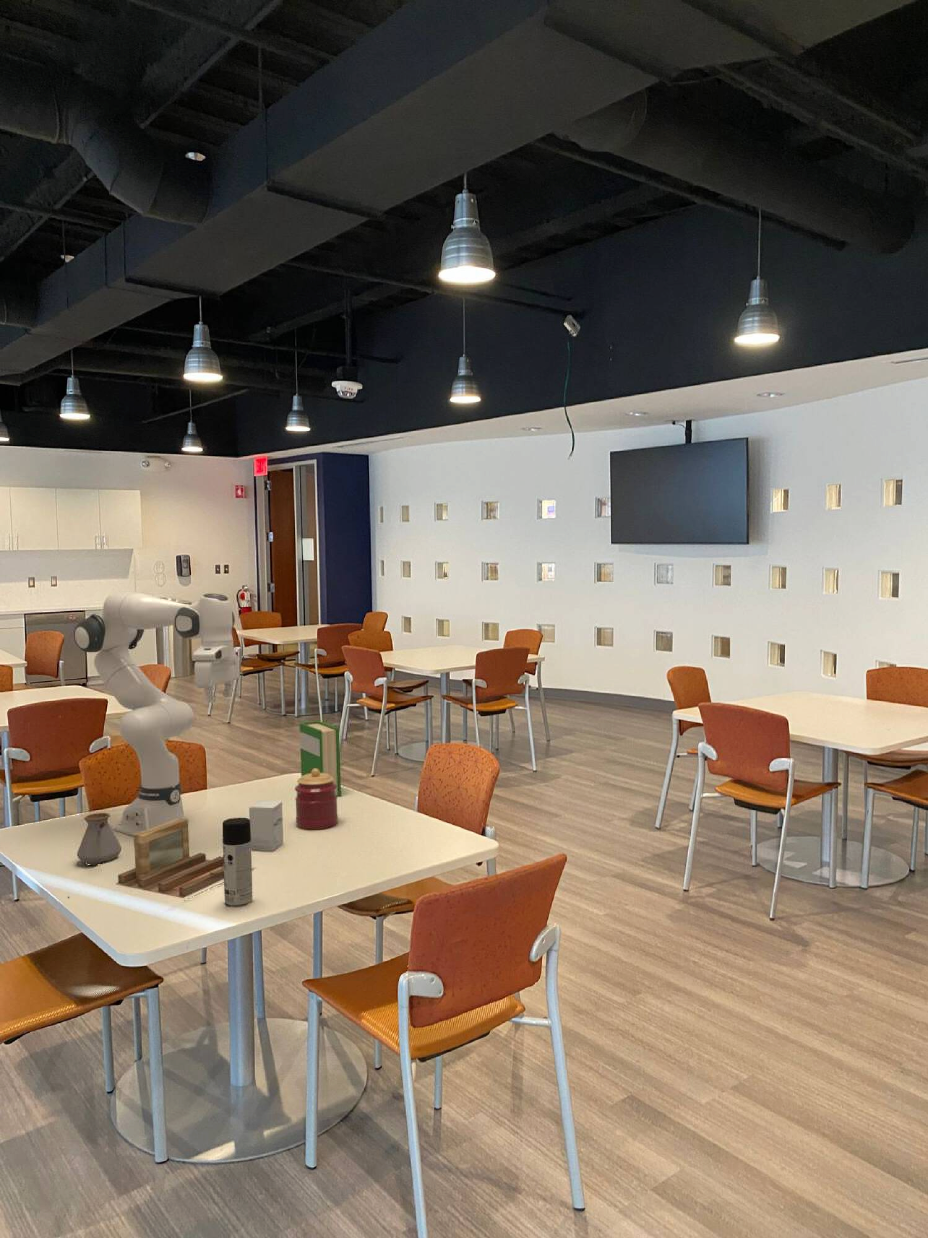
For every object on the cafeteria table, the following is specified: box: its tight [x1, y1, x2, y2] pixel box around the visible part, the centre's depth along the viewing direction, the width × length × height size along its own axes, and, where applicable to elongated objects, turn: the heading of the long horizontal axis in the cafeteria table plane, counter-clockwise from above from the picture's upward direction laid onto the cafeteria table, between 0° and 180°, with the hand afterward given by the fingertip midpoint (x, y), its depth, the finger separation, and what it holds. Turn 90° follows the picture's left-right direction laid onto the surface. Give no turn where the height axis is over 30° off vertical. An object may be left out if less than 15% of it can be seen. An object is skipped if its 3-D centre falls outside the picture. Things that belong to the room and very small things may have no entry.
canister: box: [294, 768, 339, 831], centre depth 284 cm, size 13×13×18 cm
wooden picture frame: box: [133, 818, 190, 881], centre depth 241 cm, size 3×16×12 cm, turn 153°
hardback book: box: [299, 720, 342, 798], centre depth 322 cm, size 18×7×24 cm, turn 32°
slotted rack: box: [115, 852, 224, 902], centre depth 238 cm, size 23×24×4 cm
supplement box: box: [248, 800, 284, 852], centre depth 263 cm, size 7×7×13 cm
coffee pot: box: [76, 812, 122, 865], centre depth 249 cm, size 21×12×15 cm, turn 27°
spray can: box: [222, 817, 253, 907], centre depth 221 cm, size 7×7×20 cm
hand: (219, 699), depth 260 cm, fingers open, 8 cm apart
